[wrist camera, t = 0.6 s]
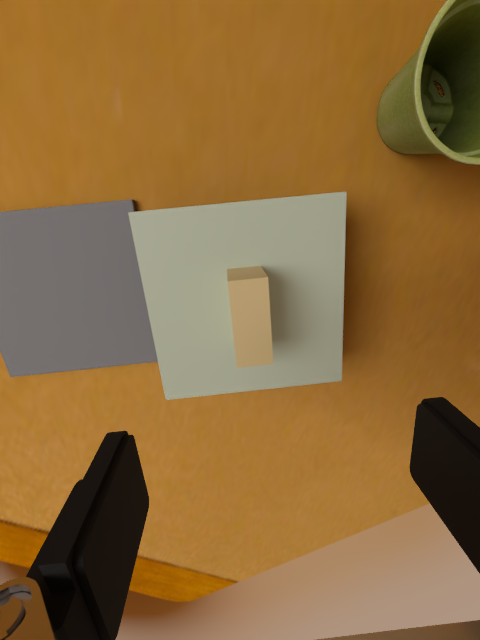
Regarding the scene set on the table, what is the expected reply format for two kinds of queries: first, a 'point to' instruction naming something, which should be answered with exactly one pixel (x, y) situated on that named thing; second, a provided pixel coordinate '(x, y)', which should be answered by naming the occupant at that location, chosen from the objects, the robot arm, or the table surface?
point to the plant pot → (423, 97)
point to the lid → (244, 292)
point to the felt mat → (71, 290)
